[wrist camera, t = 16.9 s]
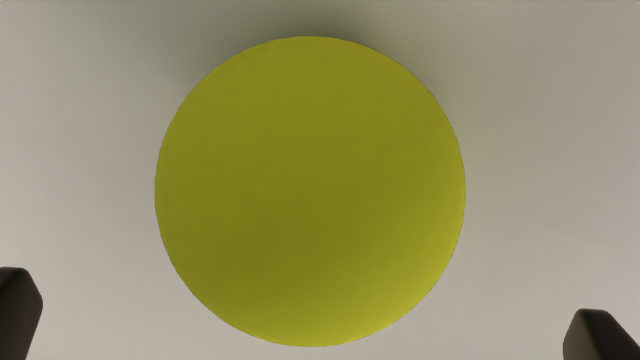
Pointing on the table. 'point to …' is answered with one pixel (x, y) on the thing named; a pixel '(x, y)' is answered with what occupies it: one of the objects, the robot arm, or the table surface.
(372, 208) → the ball
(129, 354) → the table surface
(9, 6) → the table surface
